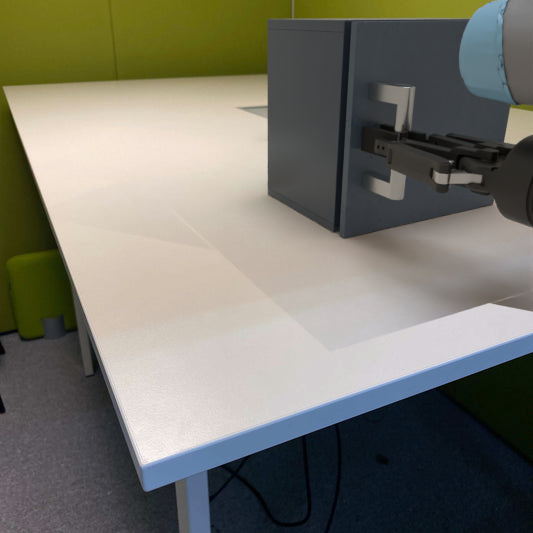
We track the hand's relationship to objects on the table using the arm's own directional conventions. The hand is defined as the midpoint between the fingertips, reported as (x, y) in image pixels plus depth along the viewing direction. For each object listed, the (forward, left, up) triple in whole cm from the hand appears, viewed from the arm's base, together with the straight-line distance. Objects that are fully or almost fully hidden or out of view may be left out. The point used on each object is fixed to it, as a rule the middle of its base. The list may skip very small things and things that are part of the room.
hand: (373, 137), depth 63 cm
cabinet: (+1, -15, -12) cm, 20 cm away
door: (-8, -6, -12) cm, 16 cm away
